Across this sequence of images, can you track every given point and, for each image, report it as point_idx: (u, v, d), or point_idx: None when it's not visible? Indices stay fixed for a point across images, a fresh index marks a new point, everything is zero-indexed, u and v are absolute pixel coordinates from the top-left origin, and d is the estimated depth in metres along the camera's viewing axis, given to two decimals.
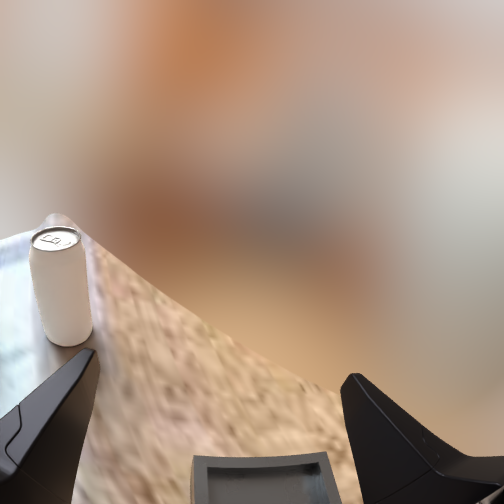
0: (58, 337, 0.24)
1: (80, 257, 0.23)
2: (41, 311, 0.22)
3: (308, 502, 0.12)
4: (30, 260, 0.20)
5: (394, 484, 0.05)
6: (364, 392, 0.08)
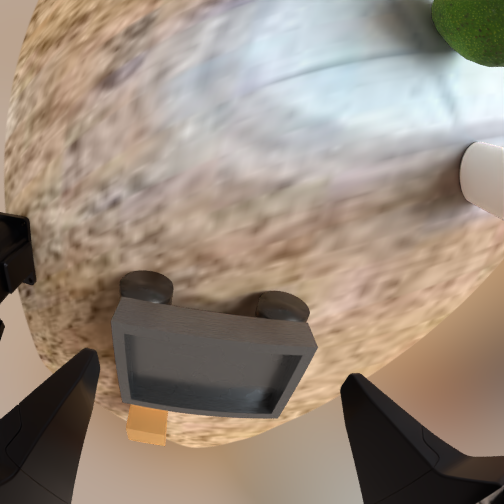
0: (470, 167, 0.18)
1: None
2: (499, 159, 0.15)
3: (238, 394, 0.21)
4: None
5: (394, 484, 0.05)
6: (364, 392, 0.08)
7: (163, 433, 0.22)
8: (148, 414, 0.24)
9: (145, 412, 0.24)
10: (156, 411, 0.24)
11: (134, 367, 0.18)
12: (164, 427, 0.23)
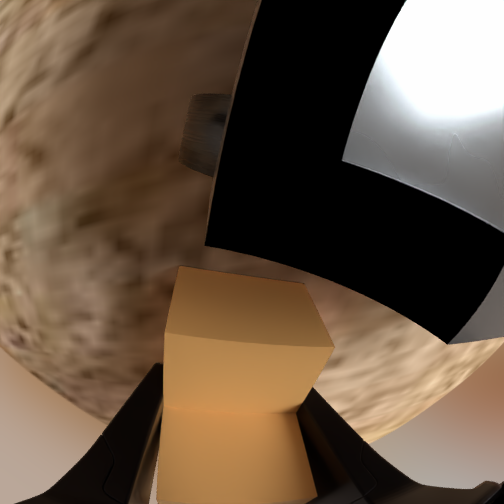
0: None
1: None
2: None
3: None
4: None
5: None
6: None
7: (310, 491, 0.05)
8: (236, 434, 0.07)
9: (223, 428, 0.07)
10: (262, 418, 0.07)
11: None
12: (306, 469, 0.06)
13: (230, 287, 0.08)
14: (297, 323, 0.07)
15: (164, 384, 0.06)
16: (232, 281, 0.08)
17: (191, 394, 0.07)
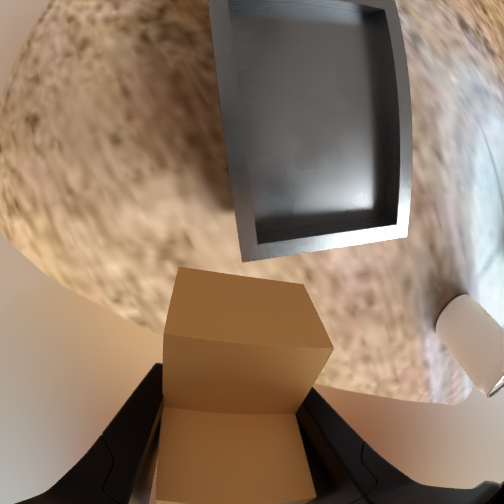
0: (466, 301, 0.24)
1: (484, 379, 0.18)
2: (488, 314, 0.22)
3: (264, 176, 0.13)
4: None
5: None
6: None
7: (309, 492, 0.05)
8: (235, 435, 0.07)
9: (222, 428, 0.07)
10: (261, 418, 0.07)
11: (281, 9, 0.09)
12: (305, 469, 0.06)
13: (229, 288, 0.08)
14: (296, 324, 0.07)
15: (163, 385, 0.06)
16: (231, 282, 0.08)
17: (190, 395, 0.07)
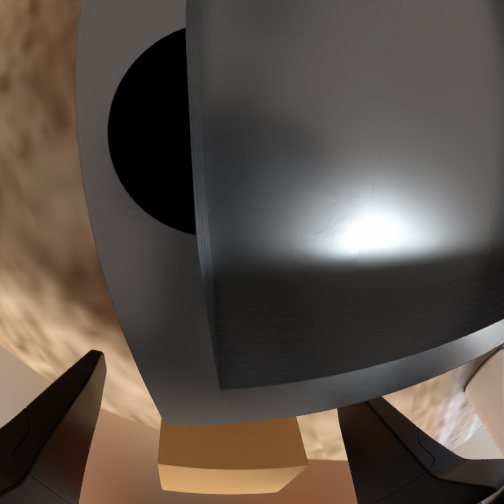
0: None
1: None
2: None
3: (271, 99, 0.03)
4: None
5: (389, 487, 0.05)
6: None
7: (302, 460, 0.06)
8: None
9: None
10: None
11: None
12: (298, 439, 0.07)
13: None
14: None
15: None
16: None
17: None
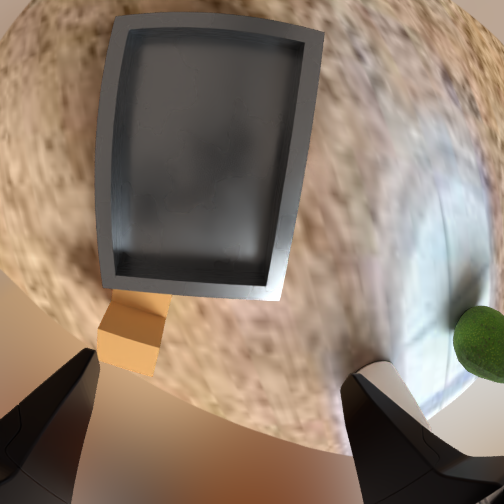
0: (383, 369, 0.26)
1: None
2: (405, 388, 0.23)
3: (135, 211, 0.13)
4: (430, 428, 0.19)
5: (394, 484, 0.05)
6: (364, 392, 0.08)
7: (157, 345, 0.16)
8: (136, 316, 0.17)
9: (132, 313, 0.17)
10: (149, 314, 0.18)
11: (189, 40, 0.10)
12: (160, 337, 0.16)
13: None
14: None
15: None
16: None
17: (122, 295, 0.17)
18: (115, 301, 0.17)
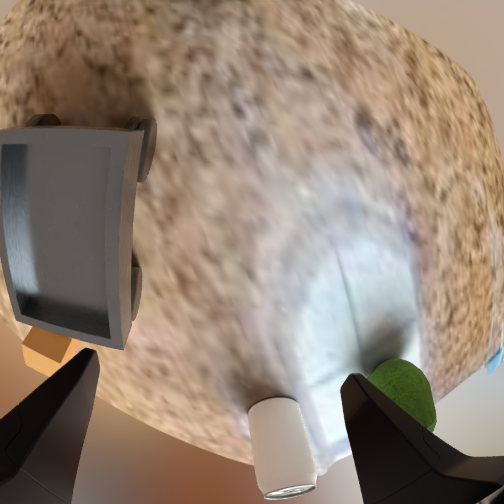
0: (280, 406, 0.28)
1: (260, 483, 0.21)
2: (298, 428, 0.26)
3: (30, 272, 0.14)
4: (313, 471, 0.21)
5: (394, 484, 0.05)
6: (364, 392, 0.08)
7: (59, 361, 0.17)
8: (50, 336, 0.18)
9: (48, 333, 0.19)
10: (60, 336, 0.19)
11: (45, 144, 0.11)
12: (62, 355, 0.18)
13: None
14: None
15: None
16: None
17: None
18: None
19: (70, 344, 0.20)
